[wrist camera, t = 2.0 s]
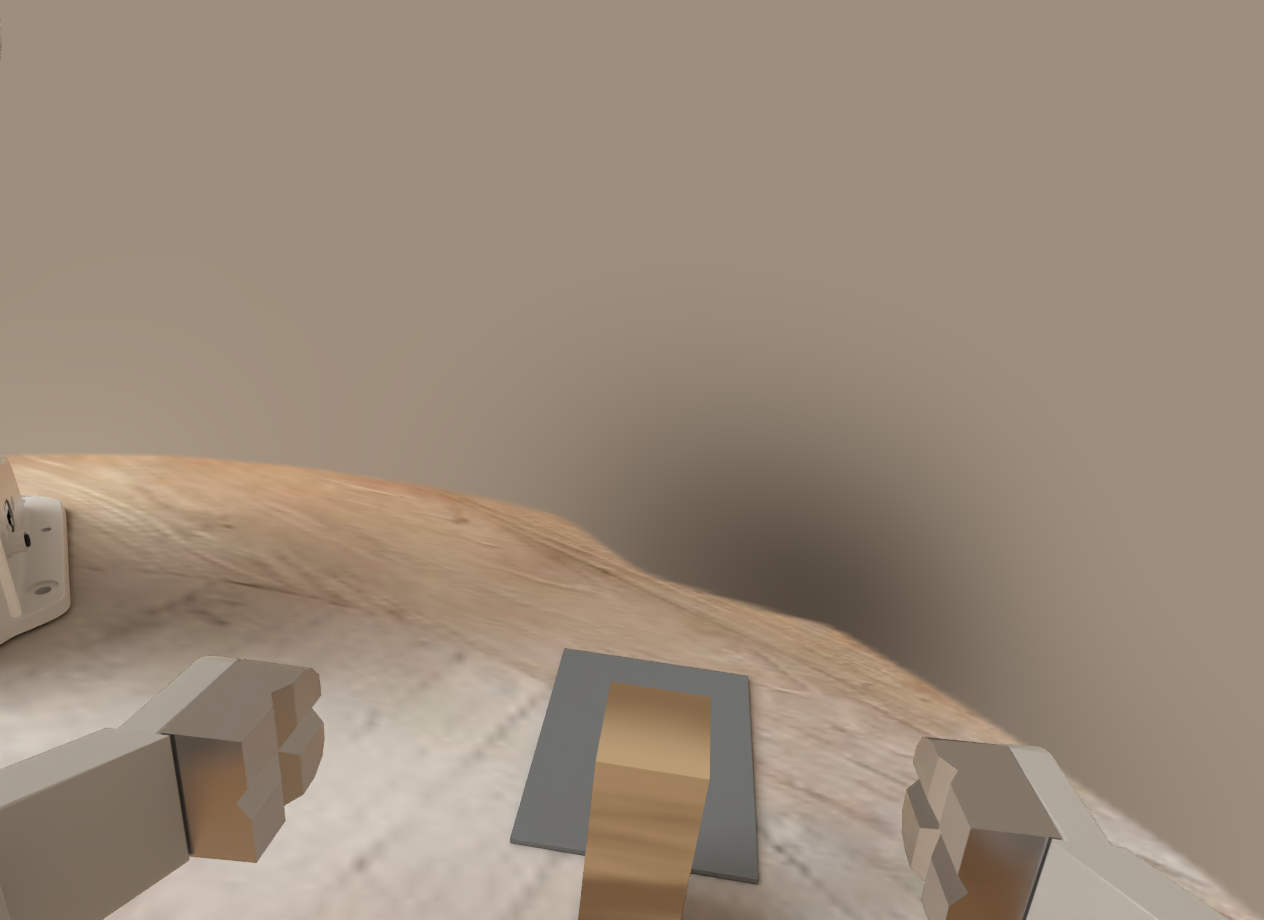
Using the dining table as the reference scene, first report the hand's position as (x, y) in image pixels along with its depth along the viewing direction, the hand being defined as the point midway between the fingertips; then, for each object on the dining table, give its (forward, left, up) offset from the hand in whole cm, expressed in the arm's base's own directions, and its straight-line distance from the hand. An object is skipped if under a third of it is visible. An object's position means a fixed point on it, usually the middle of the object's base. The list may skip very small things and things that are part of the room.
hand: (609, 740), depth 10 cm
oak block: (-11, +8, -25) cm, 28 cm away
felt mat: (-20, +13, -25) cm, 34 cm away
